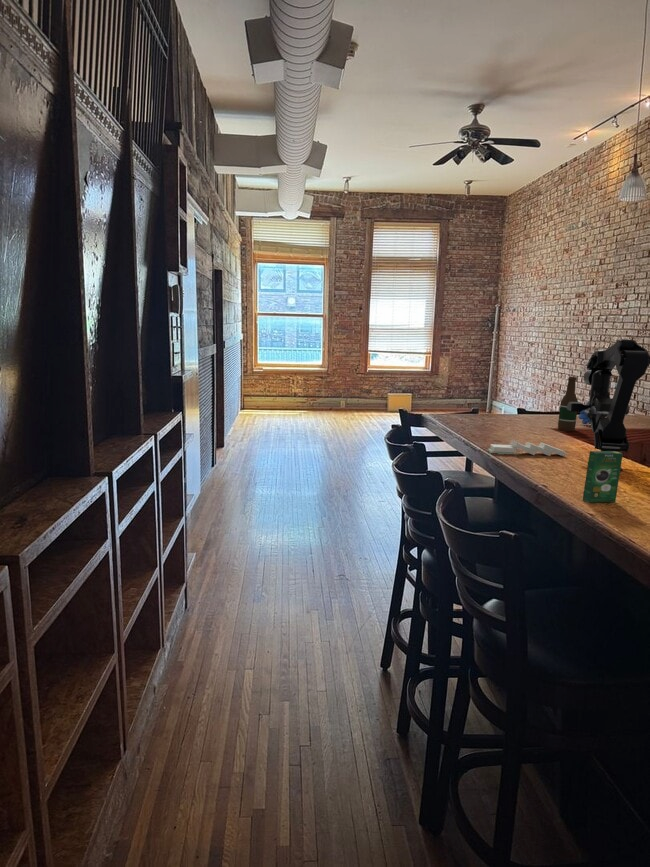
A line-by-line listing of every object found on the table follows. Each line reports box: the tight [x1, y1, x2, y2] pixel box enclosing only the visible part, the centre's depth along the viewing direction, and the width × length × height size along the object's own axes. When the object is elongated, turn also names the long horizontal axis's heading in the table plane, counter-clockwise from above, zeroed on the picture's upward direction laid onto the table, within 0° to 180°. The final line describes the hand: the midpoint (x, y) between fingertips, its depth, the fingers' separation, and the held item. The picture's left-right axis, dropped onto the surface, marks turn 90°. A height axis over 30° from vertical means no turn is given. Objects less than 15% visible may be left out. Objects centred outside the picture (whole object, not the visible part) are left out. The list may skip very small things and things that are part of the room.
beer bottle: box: [557, 376, 579, 432], centre depth 246 cm, size 8×8×24 cm
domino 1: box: [489, 443, 518, 454], centre depth 193 cm, size 5×2×8 cm
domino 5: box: [538, 441, 567, 457], centre depth 193 cm, size 5×2×8 cm
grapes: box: [578, 402, 598, 425], centre depth 263 cm, size 12×7×12 cm, turn 64°
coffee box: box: [582, 450, 624, 504], centre depth 139 cm, size 8×3×13 cm, turn 102°
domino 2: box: [487, 448, 515, 455], centre depth 194 cm, size 5×2×8 cm
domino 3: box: [509, 439, 537, 456], centre depth 193 cm, size 5×2×8 cm
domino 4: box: [524, 441, 553, 457], centre depth 193 cm, size 5×2×8 cm
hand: (594, 432), depth 191 cm, fingers closed
